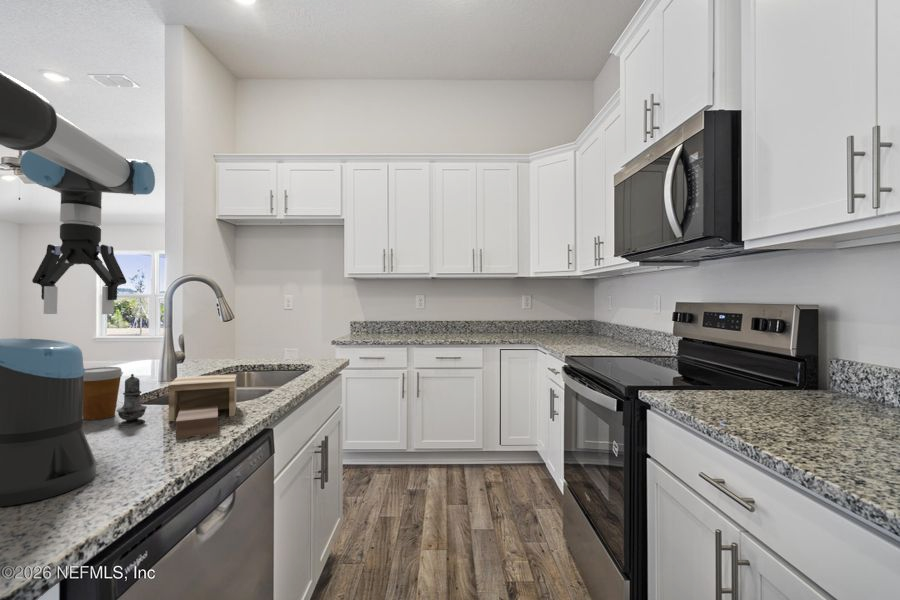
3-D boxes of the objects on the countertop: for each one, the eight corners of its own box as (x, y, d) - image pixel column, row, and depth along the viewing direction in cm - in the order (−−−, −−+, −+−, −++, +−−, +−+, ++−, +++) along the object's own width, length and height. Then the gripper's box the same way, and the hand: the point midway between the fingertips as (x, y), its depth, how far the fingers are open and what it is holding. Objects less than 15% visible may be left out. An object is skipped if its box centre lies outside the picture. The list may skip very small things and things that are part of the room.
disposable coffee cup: (70, 424, 104) (71, 373, 104) (78, 414, 112) (79, 368, 112) (120, 418, 109) (120, 370, 109) (124, 410, 117) (125, 365, 117)
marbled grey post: (142, 425, 103) (143, 374, 103) (112, 428, 101) (113, 376, 101) (149, 419, 109) (150, 371, 109) (121, 421, 106) (121, 372, 106)
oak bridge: (234, 416, 112) (234, 381, 112) (168, 422, 106) (168, 385, 106) (236, 406, 122) (236, 374, 122) (176, 411, 116) (176, 377, 116)
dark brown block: (217, 434, 98) (217, 417, 98) (175, 439, 94) (175, 421, 94) (217, 421, 108) (217, 405, 108) (179, 425, 105) (179, 408, 105)
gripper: (144, 228, 108) (142, 314, 107) (43, 227, 108) (41, 313, 107) (121, 222, 100) (120, 314, 100) (12, 221, 100) (10, 314, 100)
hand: (79, 314), depth 104 cm, fingers open, 13 cm apart
